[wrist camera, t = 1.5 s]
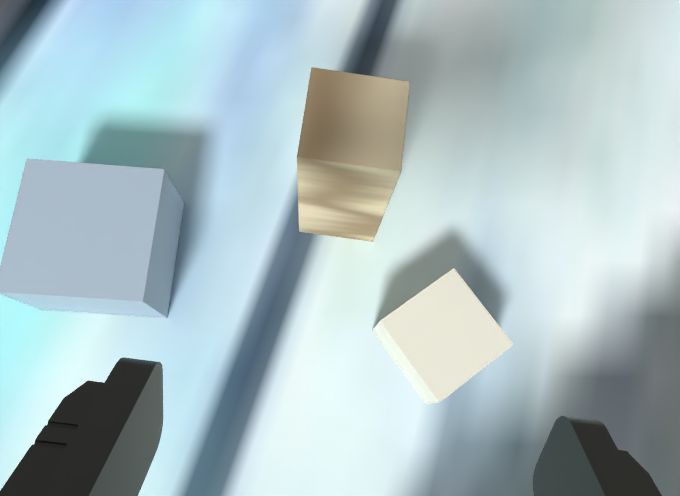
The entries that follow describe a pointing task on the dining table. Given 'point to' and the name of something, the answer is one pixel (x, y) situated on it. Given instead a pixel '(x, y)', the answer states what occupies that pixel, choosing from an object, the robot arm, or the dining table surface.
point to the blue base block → (93, 239)
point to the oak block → (349, 152)
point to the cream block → (442, 337)
